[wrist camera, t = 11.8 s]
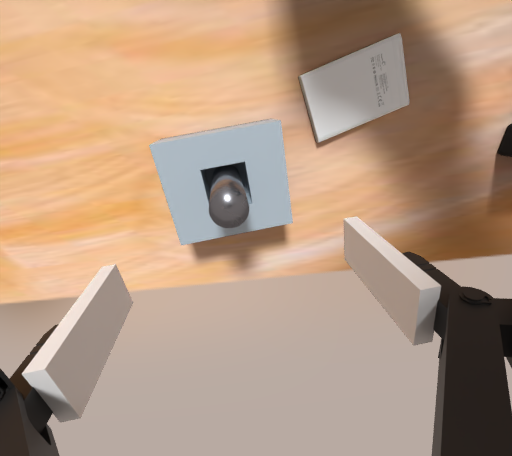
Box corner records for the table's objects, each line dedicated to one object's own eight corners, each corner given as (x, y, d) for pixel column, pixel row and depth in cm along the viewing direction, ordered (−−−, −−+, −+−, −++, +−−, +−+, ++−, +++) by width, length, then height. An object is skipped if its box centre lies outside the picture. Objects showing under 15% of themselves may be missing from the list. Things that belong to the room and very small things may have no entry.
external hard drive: (297, 76, 33) (393, 35, 32) (315, 141, 36) (403, 105, 36) (300, 75, 31) (402, 31, 31) (319, 143, 35) (410, 105, 34)
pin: (209, 167, 34) (204, 194, 23) (237, 161, 34) (245, 186, 23) (216, 194, 35) (214, 231, 25) (242, 188, 36) (252, 223, 25)
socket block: (160, 138, 33) (149, 144, 28) (271, 118, 34) (280, 120, 28) (186, 225, 38) (181, 245, 33) (282, 206, 39) (292, 222, 34)
